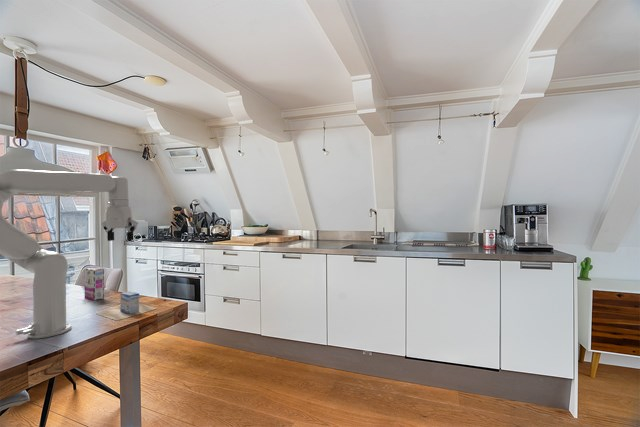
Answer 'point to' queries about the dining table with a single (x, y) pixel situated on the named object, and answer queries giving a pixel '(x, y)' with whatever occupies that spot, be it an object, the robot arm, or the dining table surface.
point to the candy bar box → (94, 283)
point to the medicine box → (129, 302)
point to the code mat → (119, 315)
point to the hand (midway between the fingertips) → (120, 240)
